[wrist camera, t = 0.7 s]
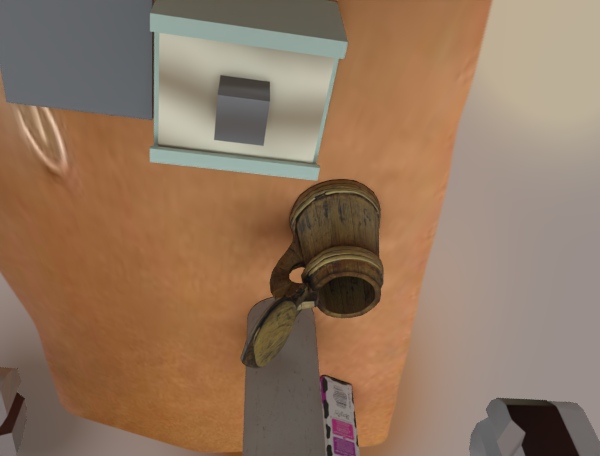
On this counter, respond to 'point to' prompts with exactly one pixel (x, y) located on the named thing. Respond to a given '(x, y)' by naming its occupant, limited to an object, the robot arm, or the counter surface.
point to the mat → (78, 55)
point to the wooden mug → (322, 264)
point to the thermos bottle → (285, 395)
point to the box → (253, 32)
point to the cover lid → (240, 99)
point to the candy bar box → (338, 418)
